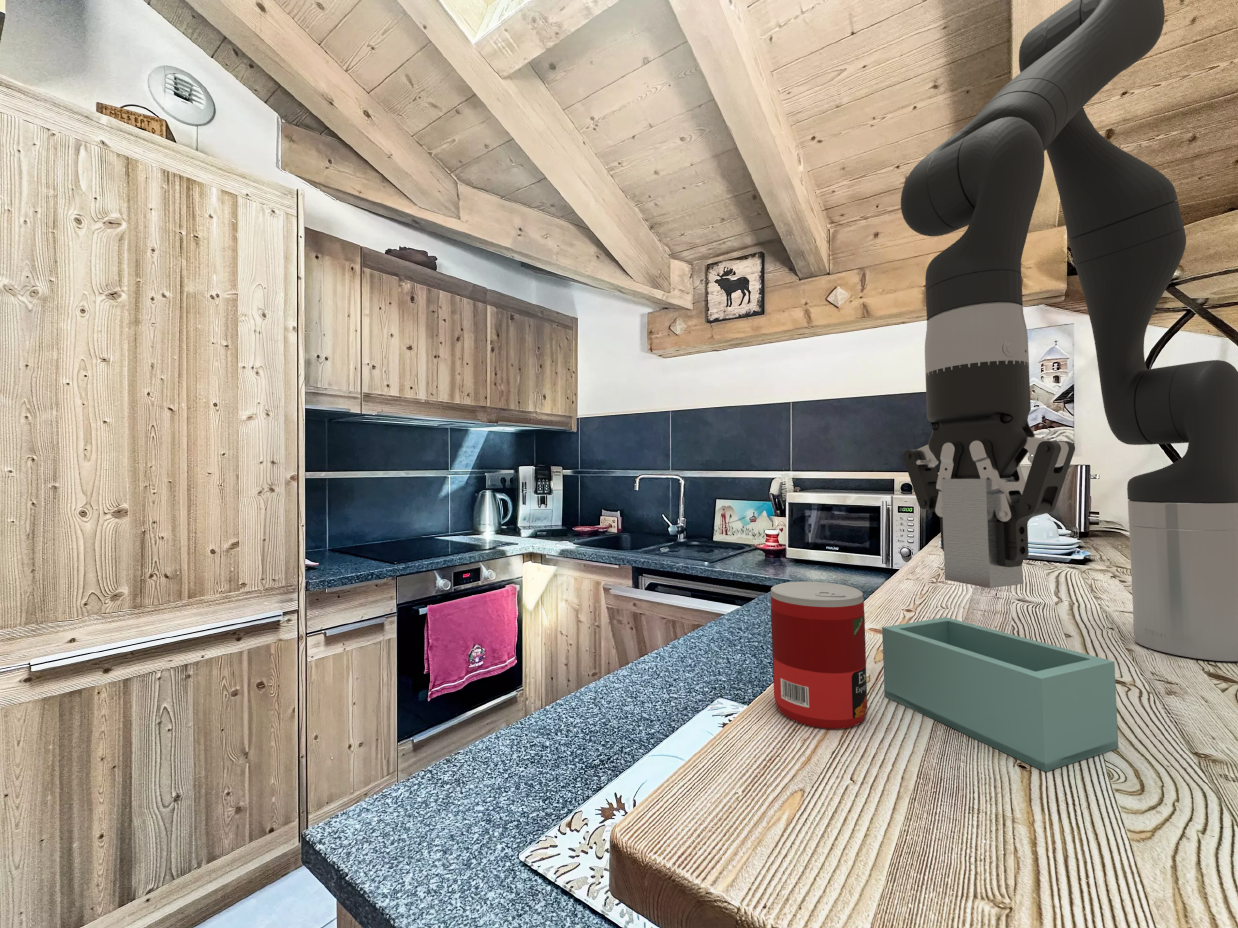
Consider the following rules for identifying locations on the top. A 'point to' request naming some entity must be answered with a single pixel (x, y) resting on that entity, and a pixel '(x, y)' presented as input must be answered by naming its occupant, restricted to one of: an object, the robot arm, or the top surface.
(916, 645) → the box
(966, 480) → the grey upright brick
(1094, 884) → the top surface
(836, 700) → the canned food
